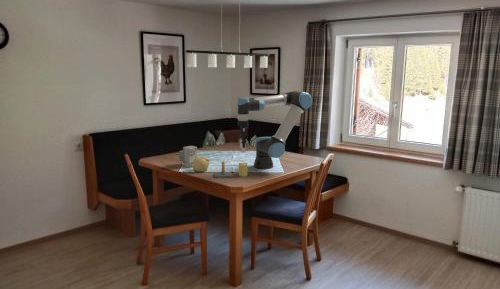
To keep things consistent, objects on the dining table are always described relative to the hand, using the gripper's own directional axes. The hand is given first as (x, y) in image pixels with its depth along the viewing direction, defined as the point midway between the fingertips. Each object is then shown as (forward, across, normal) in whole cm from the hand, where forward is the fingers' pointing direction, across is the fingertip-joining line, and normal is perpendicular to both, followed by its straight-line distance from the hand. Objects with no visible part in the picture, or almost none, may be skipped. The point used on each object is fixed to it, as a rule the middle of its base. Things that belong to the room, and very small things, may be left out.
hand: (242, 150), depth 269 cm
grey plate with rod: (+18, 0, -14) cm, 23 cm away
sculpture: (+19, -14, -30) cm, 38 cm away
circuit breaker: (+19, -30, -40) cm, 53 cm away
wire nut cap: (+18, 0, 0) cm, 18 cm away
